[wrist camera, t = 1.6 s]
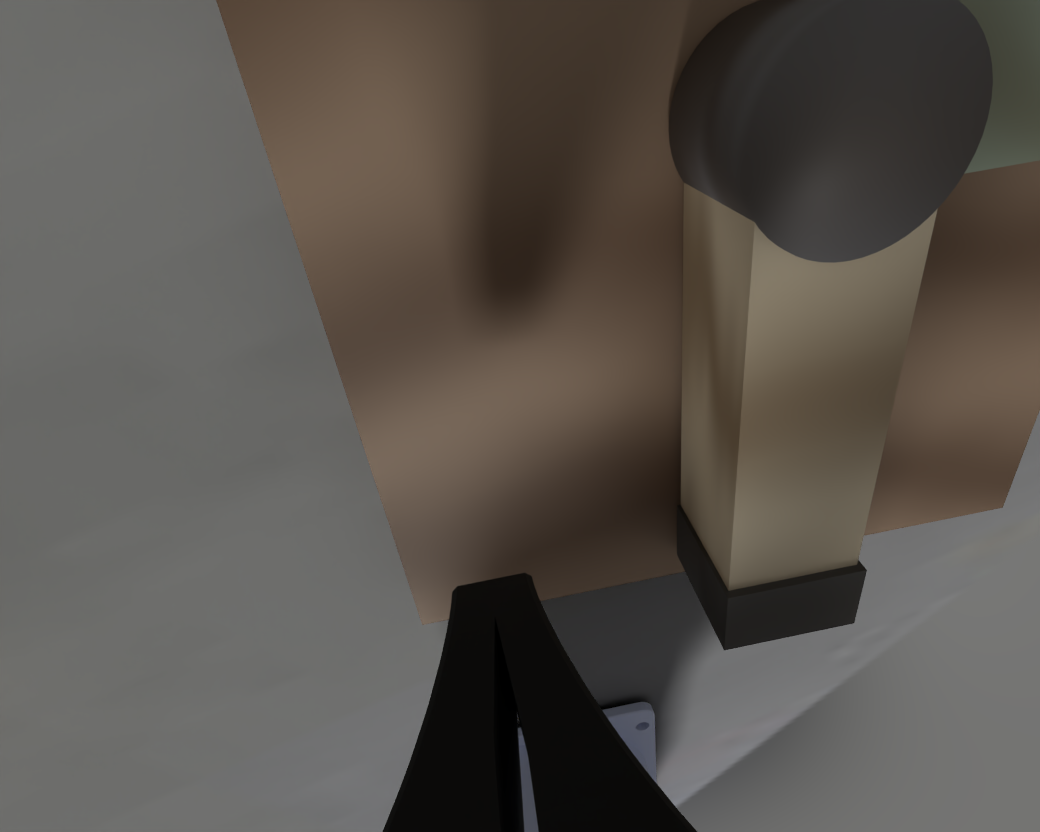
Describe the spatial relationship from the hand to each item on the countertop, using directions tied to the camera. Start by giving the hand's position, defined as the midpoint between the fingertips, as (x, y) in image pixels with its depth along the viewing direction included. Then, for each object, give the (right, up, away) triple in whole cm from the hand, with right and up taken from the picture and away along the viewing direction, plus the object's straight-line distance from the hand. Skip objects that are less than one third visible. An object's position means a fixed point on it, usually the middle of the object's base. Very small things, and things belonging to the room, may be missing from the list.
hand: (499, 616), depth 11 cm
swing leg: (+6, +5, +3) cm, 8 cm away
